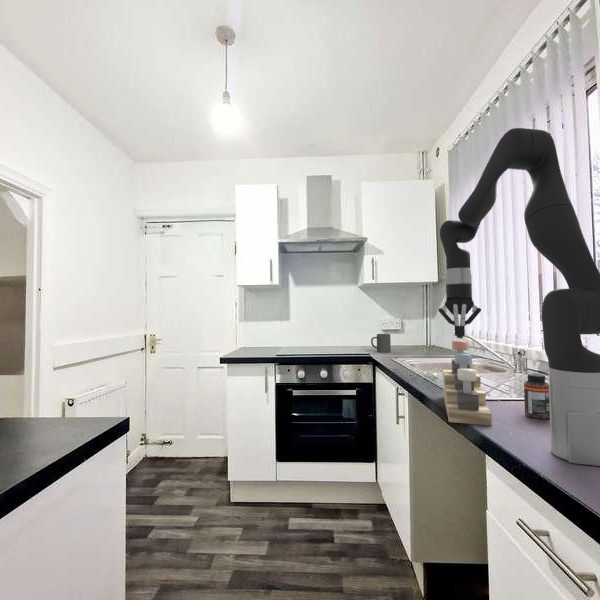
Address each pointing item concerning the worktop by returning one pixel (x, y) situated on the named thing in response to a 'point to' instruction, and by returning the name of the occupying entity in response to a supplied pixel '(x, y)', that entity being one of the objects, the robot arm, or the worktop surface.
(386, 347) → the mug
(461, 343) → the pink block
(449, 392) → the wooden block staircase
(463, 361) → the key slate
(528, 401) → the supplement bottle
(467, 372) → the white mushroom-shaped block
